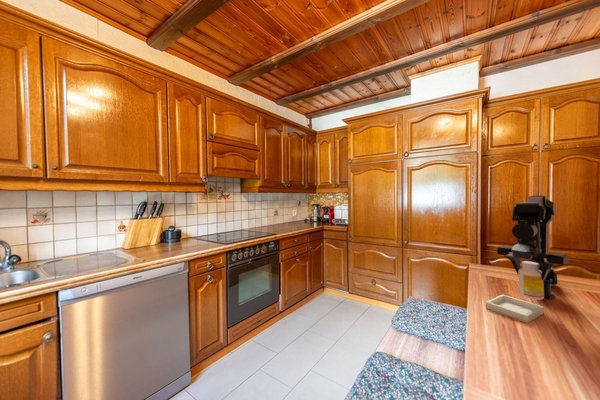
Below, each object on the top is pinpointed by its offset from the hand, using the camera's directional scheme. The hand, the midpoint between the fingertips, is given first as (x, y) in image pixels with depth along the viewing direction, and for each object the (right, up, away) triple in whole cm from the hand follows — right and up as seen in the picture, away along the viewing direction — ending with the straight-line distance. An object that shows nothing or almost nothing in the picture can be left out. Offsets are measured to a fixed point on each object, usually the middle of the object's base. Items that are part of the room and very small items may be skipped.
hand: (530, 276), depth 87 cm
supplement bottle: (0, -8, 0) cm, 8 cm away
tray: (-5, -13, +1) cm, 14 cm away
